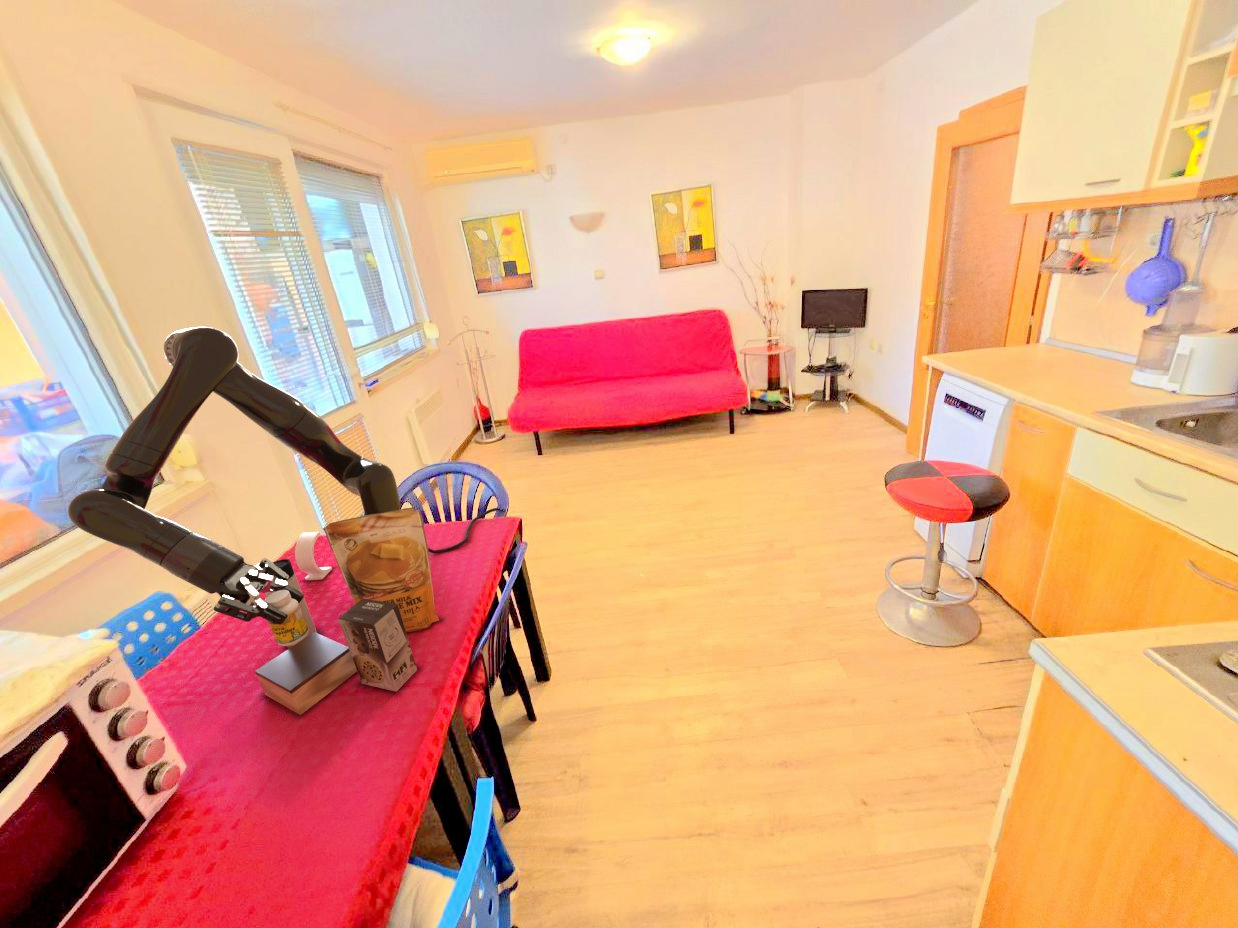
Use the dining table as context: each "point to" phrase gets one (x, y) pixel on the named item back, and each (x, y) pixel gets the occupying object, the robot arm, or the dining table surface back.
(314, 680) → the stand
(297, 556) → the headphone stand
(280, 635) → the supplement bottle
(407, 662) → the coffee box
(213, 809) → the dining table surface
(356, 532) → the pancake mix bag
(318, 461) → the robot arm
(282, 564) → the travel mug
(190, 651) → the dining table surface
